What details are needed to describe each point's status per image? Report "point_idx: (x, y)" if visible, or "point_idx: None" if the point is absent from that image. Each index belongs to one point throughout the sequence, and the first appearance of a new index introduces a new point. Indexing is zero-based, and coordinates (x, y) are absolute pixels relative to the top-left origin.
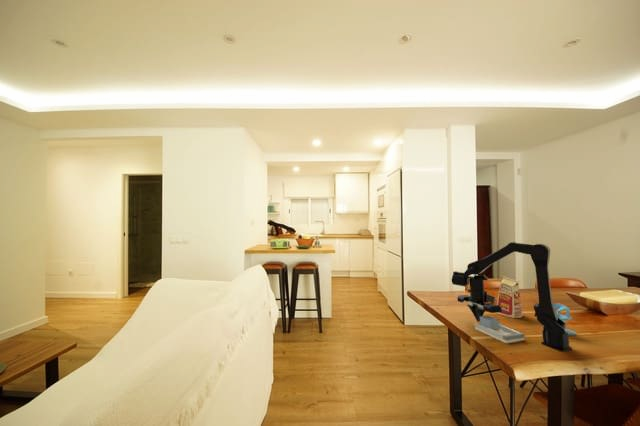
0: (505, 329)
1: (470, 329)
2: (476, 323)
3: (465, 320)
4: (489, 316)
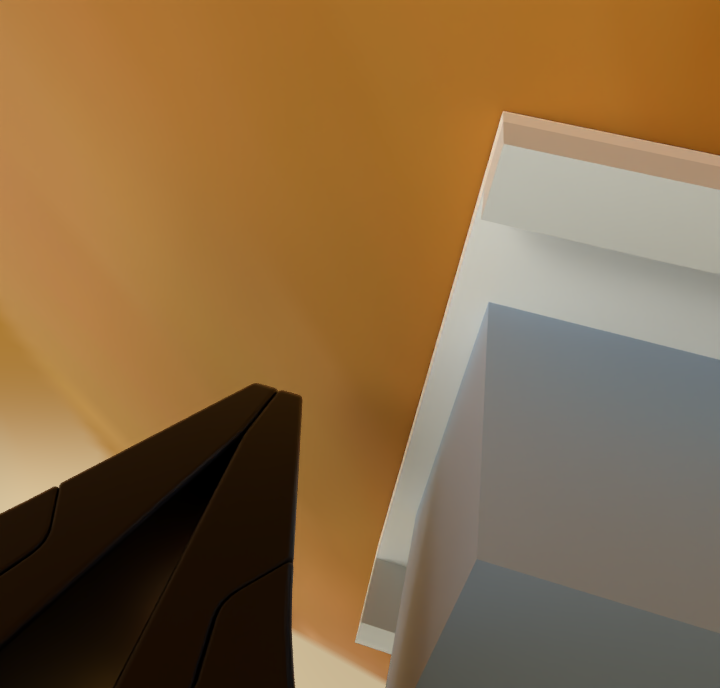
0: None
1: (360, 594)
2: (380, 633)
3: (17, 300)
4: (600, 655)
